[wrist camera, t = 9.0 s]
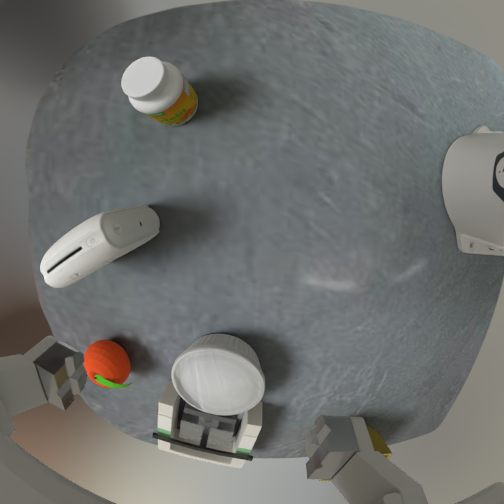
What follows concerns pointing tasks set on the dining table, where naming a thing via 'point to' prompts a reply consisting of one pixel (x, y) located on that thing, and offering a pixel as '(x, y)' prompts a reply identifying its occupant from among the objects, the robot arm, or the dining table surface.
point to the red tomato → (107, 364)
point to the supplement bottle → (159, 91)
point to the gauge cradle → (168, 428)
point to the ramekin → (219, 375)
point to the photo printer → (98, 243)
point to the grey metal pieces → (206, 432)
